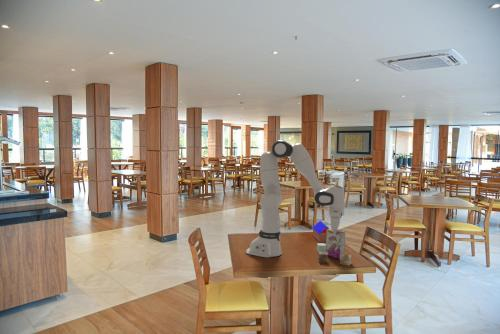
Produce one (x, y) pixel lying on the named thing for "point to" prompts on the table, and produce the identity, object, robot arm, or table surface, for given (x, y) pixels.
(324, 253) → the walnut cube
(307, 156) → the robot arm
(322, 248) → the sage cube
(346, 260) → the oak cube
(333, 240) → the candy bar box
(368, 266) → the table surface
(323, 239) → the house
